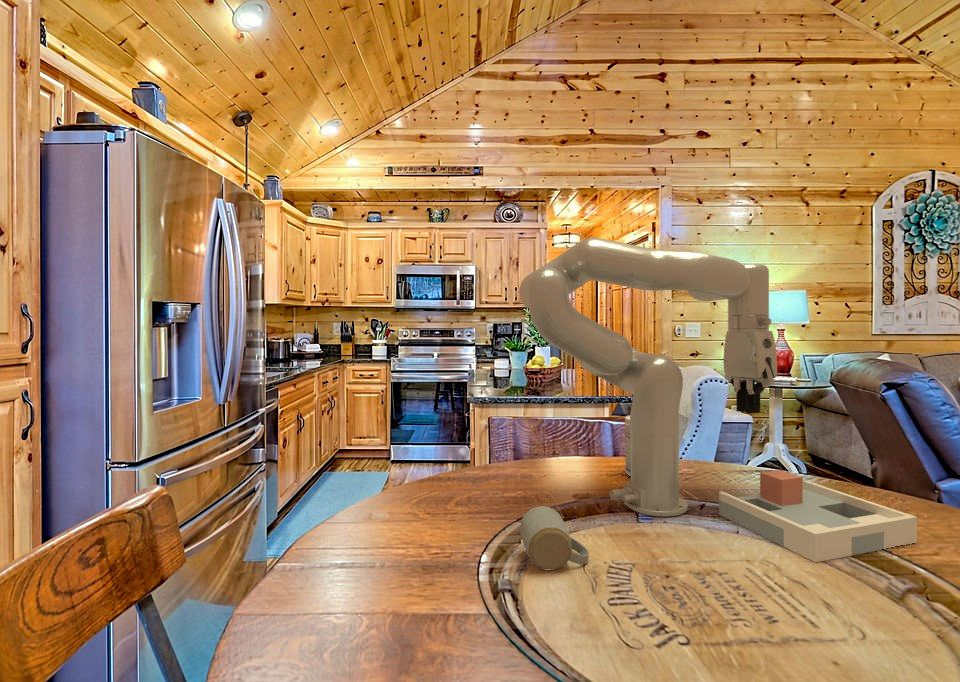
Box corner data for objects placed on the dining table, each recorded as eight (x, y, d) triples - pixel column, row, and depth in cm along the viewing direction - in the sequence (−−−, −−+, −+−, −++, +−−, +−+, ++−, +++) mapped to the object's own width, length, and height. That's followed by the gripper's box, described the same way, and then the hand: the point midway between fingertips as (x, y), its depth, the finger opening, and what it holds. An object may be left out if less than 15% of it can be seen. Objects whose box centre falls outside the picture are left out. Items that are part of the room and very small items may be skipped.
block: (781, 506, 93) (781, 479, 93) (760, 497, 98) (760, 472, 97) (802, 503, 94) (802, 477, 94) (780, 494, 99) (780, 470, 99)
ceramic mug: (528, 575, 75) (528, 525, 75) (519, 550, 83) (519, 505, 83) (595, 572, 76) (596, 523, 75) (580, 548, 84) (581, 504, 84)
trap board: (815, 562, 77) (815, 534, 77) (719, 514, 97) (718, 492, 97) (916, 543, 83) (917, 516, 83) (806, 501, 103) (806, 480, 103)
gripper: (795, 323, 96) (795, 417, 96) (733, 324, 111) (734, 405, 112) (764, 324, 94) (764, 420, 94) (706, 324, 109) (706, 407, 110)
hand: (748, 411), depth 103 cm, fingers closed
